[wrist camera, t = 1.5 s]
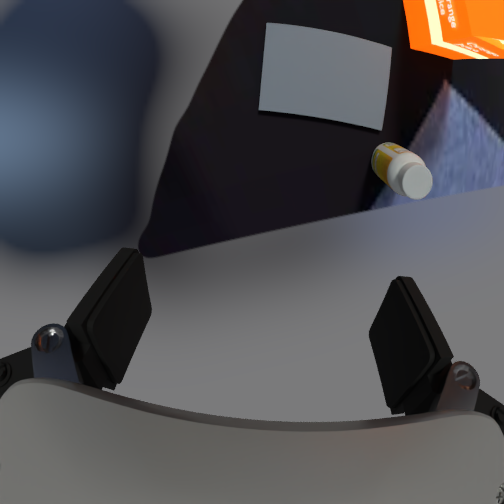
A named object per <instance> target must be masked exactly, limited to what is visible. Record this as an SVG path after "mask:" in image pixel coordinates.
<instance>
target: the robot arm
mask: <svg viewBox="0 0 504 504" xmlns="http://www.w3.org/2000/svg"><path fill="white" fill-rule="evenodd" d="M151 311H152V308H151V302H150V297H149V292H148V286H147V280H146V274H145V268H144V261H143V256H142V254H141V253H139V252H138V250H137V249H132V248H121V250H120V251H119V252H118V253H117V254H116V256H115V257H114V258H113V259H112V261H111V262H110V263H109V264H108V266H107V267H106V268H105V269H104V271H103V272H102V273H101V274H100V276H99V277H98V278H97V280H96V281H95V282H94V284H93V285H92V286H91V288H90V289H89V290H88V292H87V293H86V294H85V296H84V297H83V299H82V300H81V301H80V303H79V304H78V305H77V307H76V308H75V310H74V311H73V312H72V314H71V315H70V317H69V318H68V320H67V323H66V325H65V326H64V327H63V326H61V325H59V324H48V325H45V326H43V327H41V328H40V329H39V330H37V332H36V333H35V334H34V336H33V338H32V341H31V347H30V348H27V349H25V350H22V351H19V352H17V353H14V354H12V355H9V356H7V357H4V358H2V359H0V504H504V405H503V404H501V403H500V402H498V401H497V400H495V399H494V398H492V397H491V396H489V395H488V394H487V393H485V392H484V391H482V390H481V389H479V386H480V379H479V375H478V373H477V372H476V370H475V369H474V368H473V367H472V366H471V365H470V364H468V363H466V362H464V361H457V362H455V363H453V364H452V362H451V359H452V358H453V357H454V356H453V354H452V352H451V350H450V348H449V346H448V343H447V341H446V339H445V337H444V335H443V333H442V331H441V329H440V327H439V325H438V323H437V321H436V320H435V317H434V316H433V314H432V312H431V310H430V308H429V306H428V305H427V303H426V301H425V299H424V297H423V295H422V294H421V292H420V290H419V288H418V287H417V285H416V283H415V282H414V280H413V279H412V278H411V277H403V276H398V277H397V278H396V279H394V280H392V282H391V284H390V286H389V289H388V291H387V293H386V295H385V298H384V300H383V302H382V305H381V307H380V309H379V311H378V313H377V315H376V318H375V319H374V322H373V324H372V326H371V328H370V331H369V338H370V342H371V346H372V349H373V353H374V356H375V360H376V364H377V367H378V371H379V375H380V379H381V383H382V387H383V392H384V396H385V400H386V404H387V406H388V407H389V408H390V409H391V414H392V415H394V414H401V413H404V412H405V416H399V417H391V418H382V419H372V420H360V421H343V422H282V421H264V420H251V419H241V418H232V417H224V416H216V415H208V414H203V413H196V412H190V411H185V410H180V409H175V408H170V407H165V406H161V405H156V404H152V403H148V402H144V401H140V400H136V399H132V398H128V397H124V396H120V395H117V394H113V393H110V392H107V391H103V390H102V387H105V388H108V389H111V390H114V389H115V387H116V384H117V383H118V384H120V383H121V382H122V380H123V377H124V375H125V372H126V370H127V368H128V365H129V363H130V361H131V358H132V356H133V354H134V352H135V349H136V347H137V345H138V342H139V340H140V338H141V336H142V333H143V331H144V329H145V327H146V324H147V323H148V321H149V318H150V316H151Z"/></svg>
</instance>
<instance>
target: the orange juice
mask: <svg viewBox="0 0 504 504" xmlns="http://www.w3.org/2000/svg"><path fill="white" fill-rule="evenodd" d="M403 2H404V7H405V13H406V19H407V25H408V32H409V39H410V47H411V49H415V50H419V51H424V52H428V53H432V54H436V55H439V56H443V57H446V58H450V59H472V58H477V59H489V58H504V0H403Z"/></svg>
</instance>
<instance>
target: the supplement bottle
mask: <svg viewBox="0 0 504 504" xmlns="http://www.w3.org/2000/svg"><path fill="white" fill-rule="evenodd" d="M371 163H372V168H373V170H374V172H375V173H376V175H377V176H378V177H380V178H381V179H382V180H383V181H384V182H385V183H386V184H387V185H388V186H389V187H390V188H391V189H392V190H393V191H394V192H396V193H397V194H399V195H402V196H408V197H409V198H411V199H421V198H423V197H425V196H426V195H427V194H428V193H429V192H430V190H431V187H432V182H433V180H432V175H431V173H430V171H429V170H428V168H426V166H425V164H424V162H423V160H422V159H421V158H420V157H419V156H418V155H416V154H414V153H412V152H411V151H409V150H407V149H405V148H403V147H401V146H399V145H397V144H394V143H390V142H387V143H383V144H381V145H379V146H378V147H377V148H376V149H375V150H374V152H373V155H372V160H371Z"/></svg>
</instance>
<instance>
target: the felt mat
mask: <svg viewBox="0 0 504 504" xmlns="http://www.w3.org/2000/svg"><path fill="white" fill-rule="evenodd" d="M391 51H392V48H391V47H388V46H385V45H382V44H379V43H375V42H372V41H368V40H365V39H361V38H357V37H353V36H349V35H345V34H340V33H336V32H331V31H326V30H320V29H314V28H308V27H301V26H294V25H285V24H276V23H267V26H266V36H265V47H264V58H263V69H262V80H261V91H260V102H259V110H264V111H274V112H283V113H292V114H299V115H306V116H313V117H319V118H325V119H331V120H336V121H341V122H346V123H351V124H356V125H360V126H365V127H369V128H373V129H377V130H382V126H383V119H384V113H385V106H386V99H387V91H388V83H389V73H390V63H391Z"/></svg>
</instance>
